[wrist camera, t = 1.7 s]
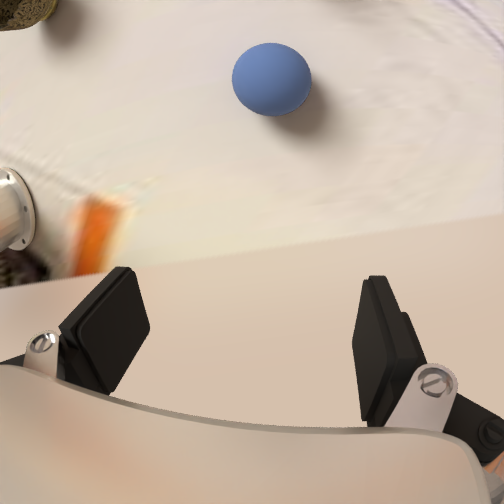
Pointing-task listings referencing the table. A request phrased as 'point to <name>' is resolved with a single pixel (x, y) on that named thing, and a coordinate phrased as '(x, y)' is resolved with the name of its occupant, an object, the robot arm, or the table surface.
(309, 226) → the table surface
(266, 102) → the ball
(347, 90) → the table surface
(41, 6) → the cup
